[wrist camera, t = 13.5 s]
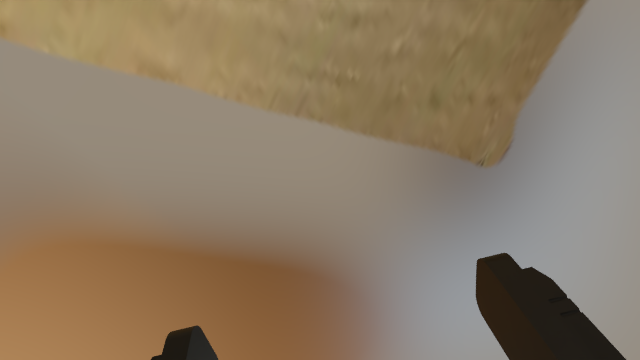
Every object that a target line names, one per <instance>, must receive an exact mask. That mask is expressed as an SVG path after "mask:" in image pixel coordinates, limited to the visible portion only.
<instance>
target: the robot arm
mask: <svg viewBox="0 0 640 360" xmlns="http://www.w3.org/2000/svg"><path fill="white" fill-rule="evenodd" d="M476 300H477V304H478V307H479V310H480V312H481V314H482V316H483V318H484V320H485V321H486V323H487V324H488V326H489V328H490V329H491V331H492V332H493V334H494V336H495V337H496V339H497V341H498V342H499V344H500V345H501V347H502V349H503V350H504V352H505V353H506V355H507V357H508V358H509V360H626V359H625V358H624V357H623V356H622V355H621V354H620V353H619V351H618V350H617V349H616V348H615V347H614V346H613V345H612V344H611V343H610V342H609V341H608V339H607V338H606V337H605V336H604V335H603V334H602V333H601V332H600V331H599V330H598V329H597V328H596V327H595V325H594V324H593V323H592V322H591V321H590V320H589V319H588V318H587V317H586V316H585V315H584V314H583V313H581V312H580V310H579V308H578V307H577V306H576V305H575V304H574V303H573V302H572V301H571V299H568V298H567V295H566V294H565V293H564V292H563V291H562V290H561V289H560V287H559V286H558V285H557V284H556V283H555V282H554V281H553V280H552V279H551V278H549V277H547V276H546V275H544V274H542V273H541V272H539V271H537V270H536V269H534V268H532V267H530V268H525V269H521V268H520V267H519V265H518V264H517V263H516V262H515V261H514V260H513V258H512V257H511V256H510V255H508V254H507V253H501V254H497V255H493V256H489V257H485V258H480V259H478V260H477V270H476ZM151 360H218V358H217V355H216V354H215V352H214V350H213V349H212V347H211V345H210V343H209V341H208V340H207V338H206V336H205V335H204V333H203V331H202V329H201V328H200V327H199V326H193V327H189V328H185V329H180V330H176V331H172V332H170V333H169V334H168V336H167V338H166V341H165V345H164V348H163V352H162V355H159V356H154V357H152V359H151Z"/></svg>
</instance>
